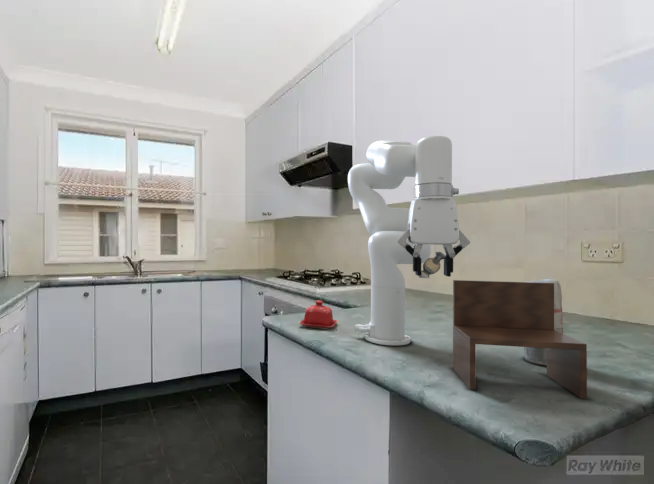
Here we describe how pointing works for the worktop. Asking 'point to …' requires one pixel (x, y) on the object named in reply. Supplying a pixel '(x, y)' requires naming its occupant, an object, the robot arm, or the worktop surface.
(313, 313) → the butter dish
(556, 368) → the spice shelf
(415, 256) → the robot arm
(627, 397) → the worktop surface
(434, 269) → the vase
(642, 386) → the worktop surface
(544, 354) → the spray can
